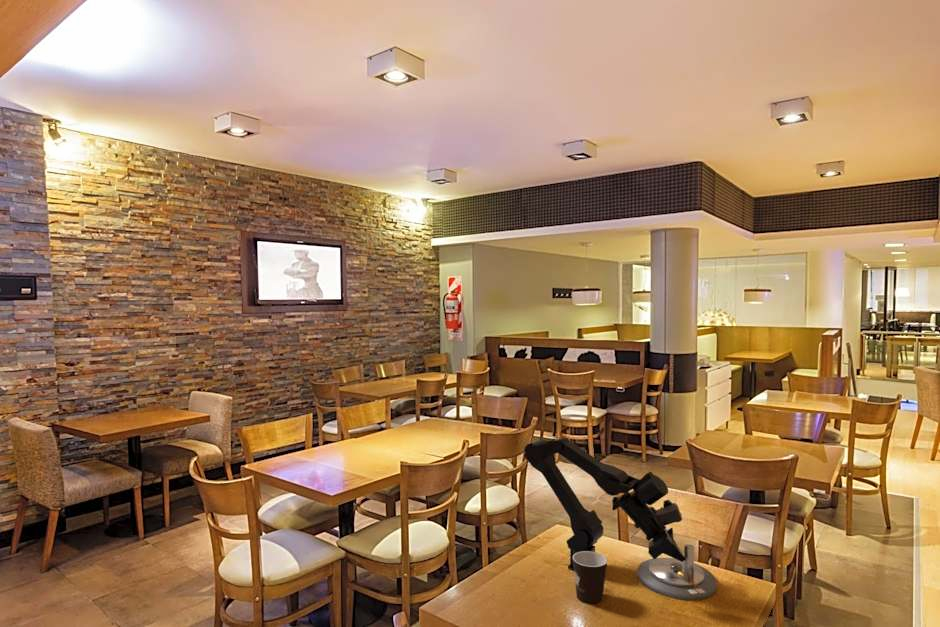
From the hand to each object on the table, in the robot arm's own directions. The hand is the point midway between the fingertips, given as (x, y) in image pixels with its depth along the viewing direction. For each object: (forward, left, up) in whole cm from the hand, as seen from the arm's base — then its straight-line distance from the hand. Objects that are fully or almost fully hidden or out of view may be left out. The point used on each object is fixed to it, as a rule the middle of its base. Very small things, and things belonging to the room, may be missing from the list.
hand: (683, 560), depth 145 cm
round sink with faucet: (-2, +4, -7) cm, 8 cm away
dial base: (-3, +5, -8) cm, 10 cm away
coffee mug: (-20, -15, -8) cm, 26 cm away
